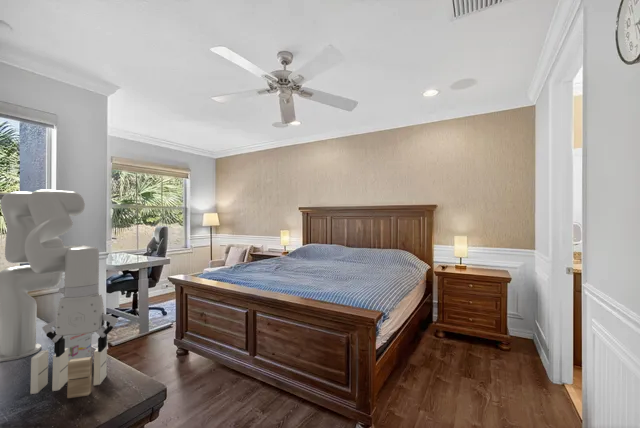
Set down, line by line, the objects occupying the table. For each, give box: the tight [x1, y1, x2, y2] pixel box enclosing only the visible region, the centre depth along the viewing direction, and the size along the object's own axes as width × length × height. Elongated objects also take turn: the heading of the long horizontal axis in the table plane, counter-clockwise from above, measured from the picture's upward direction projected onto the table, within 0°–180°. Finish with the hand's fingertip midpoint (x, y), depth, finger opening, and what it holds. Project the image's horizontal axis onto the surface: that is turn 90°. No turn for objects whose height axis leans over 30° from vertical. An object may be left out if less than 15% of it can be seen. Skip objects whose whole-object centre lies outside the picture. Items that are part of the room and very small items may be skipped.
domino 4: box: [93, 345, 108, 386], centre depth 90 cm, size 2×5×10 cm, turn 18°
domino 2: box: [51, 348, 69, 392], centre depth 87 cm, size 2×5×10 cm, turn 18°
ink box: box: [54, 333, 93, 361], centre depth 99 cm, size 9×5×12 cm, turn 168°
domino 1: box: [29, 349, 49, 395], centre depth 86 cm, size 2×5×10 cm, turn 18°
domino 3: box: [66, 356, 93, 399], centre depth 83 cm, size 2×5×10 cm, turn 108°
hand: (81, 352), depth 83 cm, fingers open, 9 cm apart
